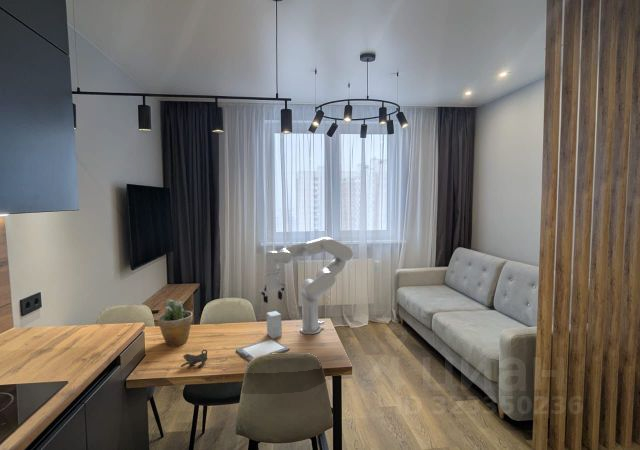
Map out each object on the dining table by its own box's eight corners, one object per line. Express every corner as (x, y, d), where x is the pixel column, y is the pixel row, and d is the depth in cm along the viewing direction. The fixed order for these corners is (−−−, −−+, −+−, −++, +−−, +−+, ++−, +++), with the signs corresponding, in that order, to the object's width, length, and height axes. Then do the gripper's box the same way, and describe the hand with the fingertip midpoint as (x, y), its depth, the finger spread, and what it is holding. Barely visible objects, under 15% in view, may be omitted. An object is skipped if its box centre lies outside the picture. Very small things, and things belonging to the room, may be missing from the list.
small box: (282, 336, 199) (281, 314, 198) (271, 338, 195) (271, 316, 194) (276, 331, 206) (276, 310, 205) (266, 333, 202) (266, 312, 202)
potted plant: (151, 345, 189) (149, 301, 187) (179, 333, 206) (177, 293, 204) (174, 351, 181) (171, 305, 179) (201, 338, 197) (199, 296, 195)
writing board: (271, 339, 193) (271, 336, 193) (289, 350, 180) (289, 346, 179) (235, 351, 180) (235, 347, 179) (252, 363, 166) (252, 359, 166)
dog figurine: (208, 361, 169) (207, 347, 169) (207, 367, 163) (206, 352, 163) (182, 364, 166) (182, 349, 166) (180, 369, 161) (180, 354, 160)
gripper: (281, 269, 206) (281, 296, 207) (256, 273, 195) (256, 302, 196) (288, 270, 200) (288, 299, 201) (262, 275, 189) (263, 305, 191)
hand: (273, 300), depth 199 cm, fingers open, 9 cm apart
